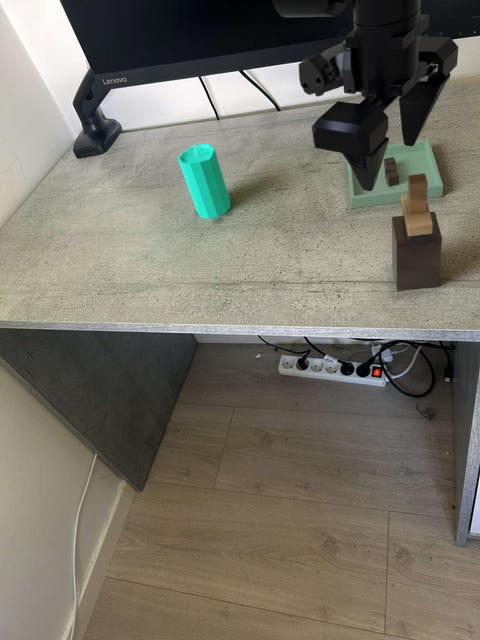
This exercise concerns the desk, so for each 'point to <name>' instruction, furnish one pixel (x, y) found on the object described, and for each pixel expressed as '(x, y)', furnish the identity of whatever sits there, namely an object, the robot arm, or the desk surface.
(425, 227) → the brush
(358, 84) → the robot arm
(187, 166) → the candle
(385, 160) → the crumb
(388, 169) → the crumb
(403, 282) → the dark brown block
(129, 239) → the desk surface
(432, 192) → the tray
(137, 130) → the desk surface
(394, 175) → the crumb
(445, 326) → the desk surface
